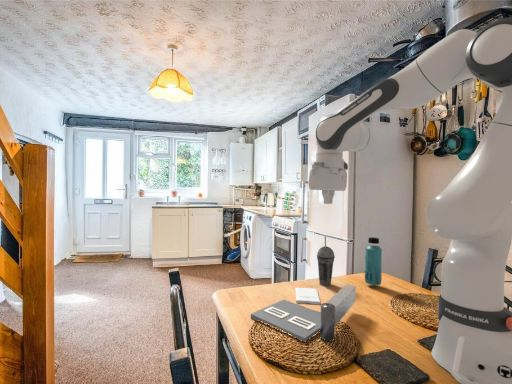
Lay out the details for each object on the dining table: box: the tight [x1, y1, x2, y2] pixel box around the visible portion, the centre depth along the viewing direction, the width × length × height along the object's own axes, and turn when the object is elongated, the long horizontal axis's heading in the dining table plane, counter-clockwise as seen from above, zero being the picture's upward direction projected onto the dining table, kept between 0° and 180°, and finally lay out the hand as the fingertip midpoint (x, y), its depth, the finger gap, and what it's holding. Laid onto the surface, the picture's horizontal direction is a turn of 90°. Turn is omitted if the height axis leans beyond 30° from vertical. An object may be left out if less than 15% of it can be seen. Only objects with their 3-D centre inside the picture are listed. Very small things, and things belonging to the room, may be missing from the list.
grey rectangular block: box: [319, 284, 357, 341], centre depth 79 cm, size 23×4×8 cm, turn 146°
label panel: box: [250, 299, 321, 343], centre depth 81 cm, size 19×16×2 cm
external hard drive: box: [294, 287, 321, 305], centre depth 100 cm, size 2×8×12 cm
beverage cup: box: [316, 235, 336, 287], centre depth 114 cm, size 7×7×20 cm
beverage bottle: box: [364, 236, 383, 286], centre depth 112 cm, size 6×7×20 cm
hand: (328, 203), depth 95 cm, fingers closed
